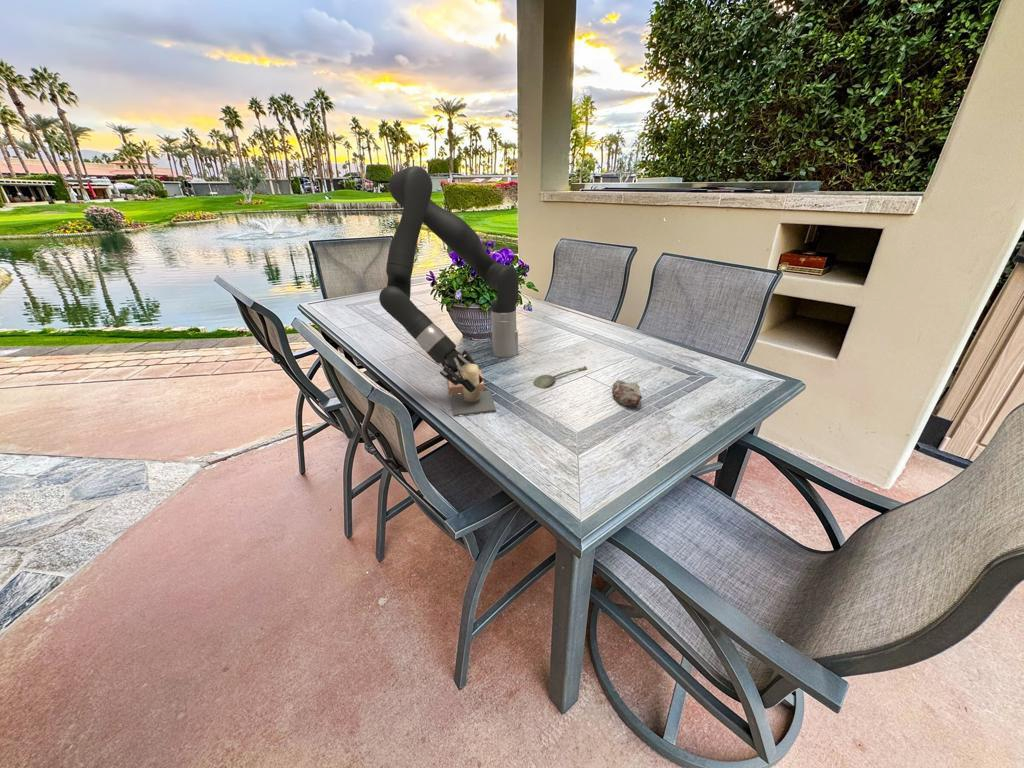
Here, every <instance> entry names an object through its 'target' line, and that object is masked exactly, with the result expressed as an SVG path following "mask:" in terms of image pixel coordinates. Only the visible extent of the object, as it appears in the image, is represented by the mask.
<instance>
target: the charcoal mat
mask: <svg viewBox="0 0 1024 768" xmlns="http://www.w3.org/2000/svg"><path fill="white" fill-rule="evenodd" d="M451 400H452V401H451V402H452V411H453V417H454V416H458V417H460V416H459V415H466V416H470V415H469V414H474V415H481V414H480V413H483V414H488V413H489V414H490V412H491V413H497V412H496V411H497V409H496V405H495V403H494V398H493V396H492V393H491V390H485V391H480V399H479V400H477V401H474V402H468V401H466V400H464V393H461V394H452V395H451Z"/></svg>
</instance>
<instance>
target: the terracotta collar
mask: <svg viewBox="0 0 1024 768" xmlns="http://www.w3.org/2000/svg"><path fill="white" fill-rule="evenodd" d="M478 372H479V375H480V376H481V377H482V378H483V375H482V371H481V369H480V368H478ZM459 377H461V376H460V375H459ZM453 379H454V380H456V379H455V378H453ZM483 379H484V378H483ZM447 381H448V388H449V395H450V394H458V393H463V385H462V384H457V385H453V383H452V382H450V381H449V380H448V379H447ZM479 386H480V391H482V390H485V391H486V388H485V387H486V386H485V382H484V380H483V381H482V382H481V383H480V384H479Z"/></svg>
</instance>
